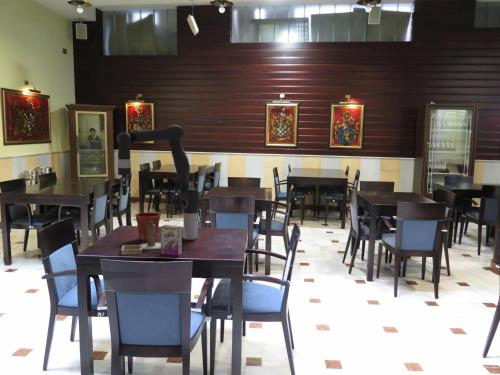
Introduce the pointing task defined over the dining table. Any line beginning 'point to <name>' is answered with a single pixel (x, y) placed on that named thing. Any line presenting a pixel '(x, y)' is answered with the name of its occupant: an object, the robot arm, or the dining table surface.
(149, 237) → the pepper mill
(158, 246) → the mat
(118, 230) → the dining table surface
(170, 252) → the candy bar box
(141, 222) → the flower pot
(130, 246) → the collar
